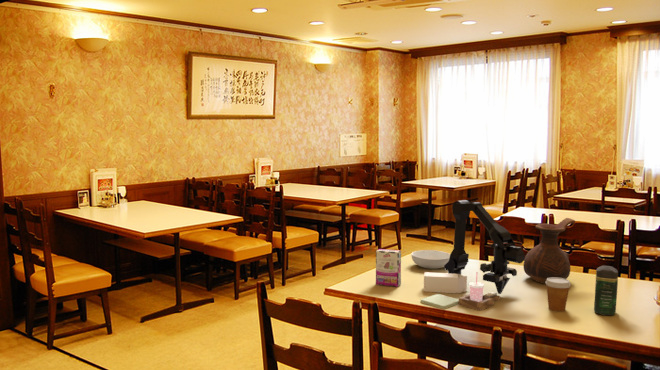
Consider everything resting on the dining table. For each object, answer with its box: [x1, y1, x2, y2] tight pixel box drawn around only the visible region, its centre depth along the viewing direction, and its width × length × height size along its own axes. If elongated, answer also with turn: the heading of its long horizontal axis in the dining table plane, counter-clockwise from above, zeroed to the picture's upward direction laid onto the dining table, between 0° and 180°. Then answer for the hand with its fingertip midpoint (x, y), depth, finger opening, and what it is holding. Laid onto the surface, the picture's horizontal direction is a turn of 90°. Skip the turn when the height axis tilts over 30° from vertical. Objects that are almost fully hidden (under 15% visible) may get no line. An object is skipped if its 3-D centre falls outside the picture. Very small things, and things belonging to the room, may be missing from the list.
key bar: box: [483, 291, 498, 300], centre depth 238 cm, size 6×3×2 cm, turn 133°
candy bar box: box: [375, 248, 402, 288], centre depth 260 cm, size 11×5×16 cm, turn 68°
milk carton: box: [423, 271, 468, 294], centre depth 251 cm, size 7×7×19 cm
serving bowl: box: [410, 249, 451, 270], centre depth 294 cm, size 21×21×7 cm
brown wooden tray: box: [458, 293, 500, 311], centre depth 234 cm, size 19×10×3 cm, turn 132°
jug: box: [523, 217, 576, 284], centre depth 267 cm, size 22×22×30 cm
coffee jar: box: [593, 264, 619, 316], centre depth 221 cm, size 10×8×19 cm
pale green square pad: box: [420, 293, 459, 310], centre depth 234 cm, size 12×12×1 cm
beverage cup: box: [468, 271, 485, 302], centre depth 230 cm, size 6×6×14 cm
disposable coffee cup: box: [544, 277, 571, 312], centre depth 225 cm, size 10×10×12 cm
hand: (499, 293), depth 243 cm, fingers closed
